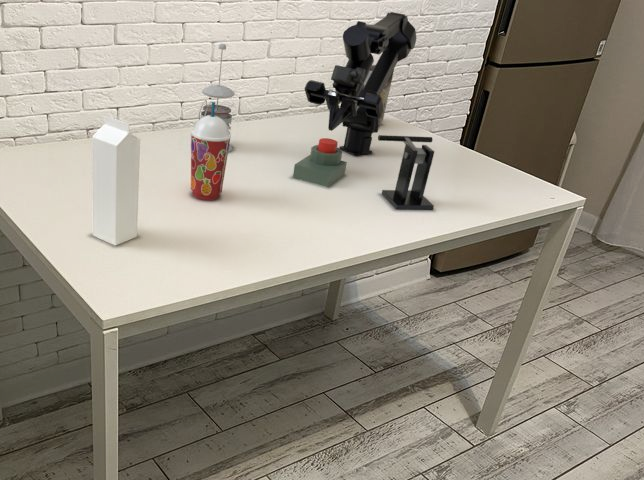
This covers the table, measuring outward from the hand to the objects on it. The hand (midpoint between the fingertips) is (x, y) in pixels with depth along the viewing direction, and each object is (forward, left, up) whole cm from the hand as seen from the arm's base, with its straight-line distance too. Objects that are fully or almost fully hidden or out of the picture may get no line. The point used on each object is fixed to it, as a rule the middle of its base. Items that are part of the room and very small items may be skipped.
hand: (330, 129), depth 173 cm
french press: (-26, -15, -11) cm, 32 cm away
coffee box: (-28, +43, -11) cm, 53 cm away
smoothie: (0, -35, -11) cm, 36 cm away
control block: (+1, -2, -11) cm, 11 cm away
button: (0, 0, -5) cm, 5 cm away
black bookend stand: (+22, +6, -11) cm, 25 cm away
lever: (+18, +8, -1) cm, 20 cm away
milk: (+10, -63, -11) cm, 65 cm away
